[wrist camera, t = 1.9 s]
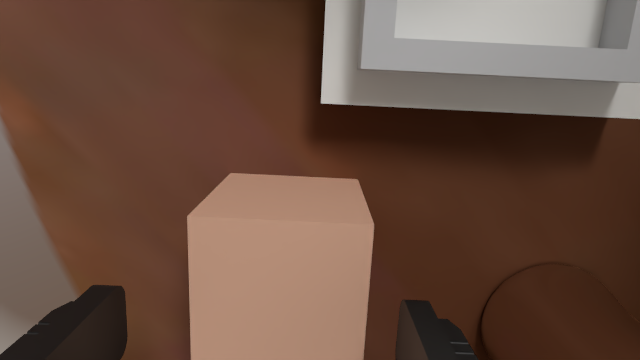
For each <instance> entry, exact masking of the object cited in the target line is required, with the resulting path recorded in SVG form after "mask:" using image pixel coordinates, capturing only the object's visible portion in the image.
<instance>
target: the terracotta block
mask: <svg viewBox="0 0 640 360" xmlns="http://www.w3.org/2000/svg"><path fill="white" fill-rule="evenodd" d="M187 223H188V262H189V300H190V339H191V360H363V357H364V344H365V332H366V320H367V308H368V295H369V283H370V271H371V259H372V246H373V234H374V223H373V220H372V217H371V215H370V212H369V209H368V206H367V204H366V201H365V198H364V195H363V192H362V190H361V187H360V184H359V181H358V179H342V178H321V177H300V176H279V175H258V174H237V173H230V174H229V175H228V176H227V177H226V178H225V179H224V180H223V181H222V182H221V183H220V184H219V185H218V186H217V187H216V188H215V189H214V190H213V191H212V192H211V193H210V194H209V195H208V196H207V197H206V198H205V199H204V200H203V201H202V202H201V203H200V204H199V205H198V206H197V207H196V208H195V209H194V210H193V211H192V212H191V213H190V214H189V215H188V216H187Z"/></svg>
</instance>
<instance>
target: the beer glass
mask: <svg viewBox="0 0 640 360" xmlns="http://www.w3.org/2000/svg"><path fill="white" fill-rule="evenodd" d="M481 336H482V341H483V344H484V347H485V350H486V352H487V354H488V356H489V357H490V359H491V360H640V322H639V321H637V320H636V319H635V318H634V317H633V316H632V315H631V314H630V313H629V312H628V311H627V310H626V309H625V308H624V307H623V306H622V305H621V304H620V302H619V301H618V300H617V299H616V298H615V297H614V295H613V294H612V293H611V292H610V291H609V290H608V289H607V288H606V287H605V286H604V285H603V284H602V283H601V282H600V281H599V280H598V279H597V278H595V277H594V276H593V275H591V274H590V273H588V272H586V271H584V270H582V269H579V268H577V267H573V266H570V265H564V264H543V265H538V266H534V267H530V268H527V269H525V270H523V271H520V272H518V273H517V274H515V275H513V276H512V277H510V278H509V279H507V280H506V281H505V282H504V283H503V284H501V285H500V286H499V287H498V289H497V290H496V291H495V292H494V293H493V295H492V296H491V298H490V299H489V301H488V303H487V305H486V307H485V309H484V312H483V316H482V321H481Z"/></svg>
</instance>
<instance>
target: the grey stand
mask: <svg viewBox="0 0 640 360" xmlns="http://www.w3.org/2000/svg"><path fill="white" fill-rule="evenodd" d="M321 103H322V104H342V105H363V106H383V107H404V108H424V109H445V110H465V111H486V112H506V113H526V114H547V115H567V116H588V117H608V118H629V119H640V0H326V4H325V25H324V46H323V67H322V88H321Z"/></svg>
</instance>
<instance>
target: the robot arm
mask: <svg viewBox="0 0 640 360" xmlns="http://www.w3.org/2000/svg"><path fill="white" fill-rule="evenodd" d="M126 343H127V320H126V301H125V291H124V289H123V287H122V286H109V285H93V286H91V287H90V288H89V289H88V290H87V291H85V292H84V293H83V294H82V295H81V296H80V297H79V298H78V299H76V300H75V301H74V302H73V301H71V302H69V303H67V304H65V305H63V306H61V307H59V308H57V309H55V310H53V311H51V312H50V313H49V314H48V315H46V316H45V317H44V318H43V319H42V320H41V321H39V323H38V325H35V326H33V327H32V328H31V329H30V330H29V331H28V332H27V334H24V335H23V336H22V337H20V338H19V339H18V340H17V341H16V342H15V343H13V344H12V345H11V346H10V347H9V348H8V349H6V350H5V351H4V352H3V353H2V354H0V360H120V359H121V358H122V356H123V353H124V351H125V348H126ZM396 360H478V358H477V357H476V355H474V351H473V350H472V348H471V346H470V345H469V344H468V341H467V340H466V338H465V336H464V334H463V333H462V331H461V330H460V329H459V328H458V327H457V326H455V325H454V324H453V323H452V322H450V321H449V320H448V319H438V318H437V316H436V314H435V312H434V310H433V308H432V306H431V304H430V303H429V301H421V300H402V301H401V305H400V312H399V322H398V331H397V341H396Z"/></svg>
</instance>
